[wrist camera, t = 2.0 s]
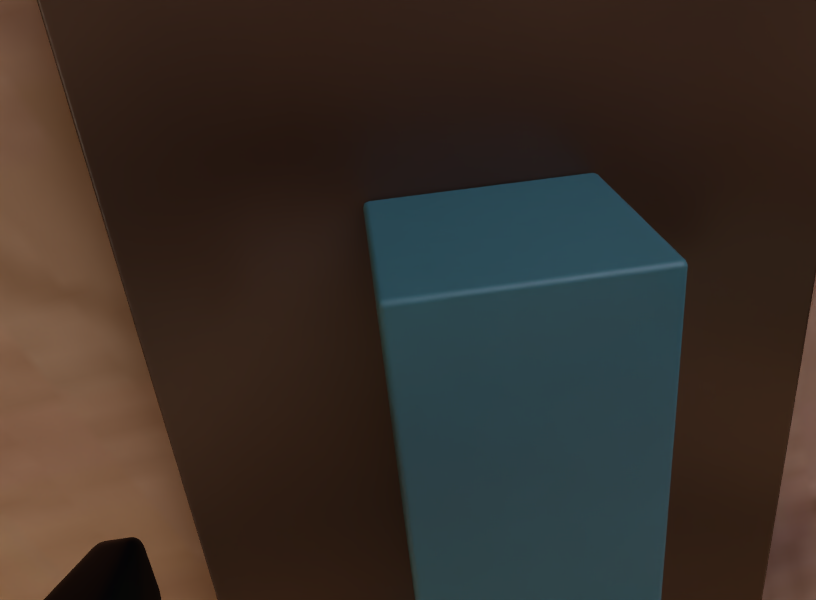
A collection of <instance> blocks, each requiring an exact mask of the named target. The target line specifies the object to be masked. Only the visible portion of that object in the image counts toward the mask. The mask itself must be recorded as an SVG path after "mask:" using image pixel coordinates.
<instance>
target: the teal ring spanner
mask: <svg viewBox="0 0 816 600" xmlns="http://www.w3.org/2000/svg"><path fill="white" fill-rule="evenodd" d="M363 211H364V218H365V226H366V233H367V241H368V248H369V256H370V264H371V271H372V279H373V286H374V294H375V301H376V309H377V317H378V324H379V332H380V339H381V347H382V354H383V362H384V370H385V377H386V385H387V392H388V400H389V407H390V415H391V423H392V430H393V438H394V445H395V453H396V460H397V468H398V476H399V483H400V491H401V498H402V506H403V513H404V521H405V529H406V536H407V544H408V551H409V559H410V566H411V574H412V581H413V589H414V597H415V600H661V595H662V582H663V570H664V557H665V545H666V532H667V519H668V507H669V494H670V482H671V469H672V457H673V444H674V432H675V419H676V406H677V394H678V381H679V369H680V356H681V344H682V331H683V318H684V306H685V293H686V281H687V268H688V266H687V262H686V260H685V259H684V258H683V257H682V256H681V255H680V254H679V253H678V252H677V251H676V250H675V249H674V248H673V247H672V246H671V245H670V244H669V243H668V242H667V241H666V240H664V239H663V238H662V237H661V236H660V235H659V234H658V233H657V232H656V231H655V230H654V229H653V228H652V227H651V226H650V225H649V224H648V223H647V222H646V221H645V220H644V219H643V218H642V217H641V216H640V215H639V214H638V213H637V212H636V211H635V210H634V209H633V208H632V207H631V206H630V205H629V204H628V203H626V202H625V201H624V200H623V199H622V198H621V197H620V196H619V195H618V194H617V193H616V192H615V191H614V190H613V189H612V188H611V187H610V186H609V185H608V184H607V183H606V182H605V181H604V180H603V179H602V178H601V177H600V176H599V175H598V174H596V173H587V174H579V175H571V176H563V177H556V178H548V179H540V180H532V181H524V182H516V183H508V184H500V185H493V186H485V187H477V188H469V189H461V190H453V191H445V192H437V193H430V194H422V195H414V196H406V197H398V198H390V199H382V200H375V201H368V202H366V203H364V207H363Z"/></svg>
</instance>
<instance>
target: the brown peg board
mask: <svg viewBox="0 0 816 600" xmlns="http://www.w3.org/2000/svg"><path fill="white" fill-rule="evenodd" d="M37 2H38V6H39V9H40V12H41V16H42V19H43V22H44V26H45V29H46V32H47V35H48V39H49V42H50V45H51V49H52V52H53V55H54V59H55V62H56V65H57V69H58V72H59V75H60V79H61V82H62V85H63V88H64V92H65V95H66V98H67V102H68V105H69V108H70V112H71V115H72V118H73V122H74V125H75V128H76V132H77V135H78V138H79V142H80V145H81V148H82V151H83V155H84V158H85V161H86V165H87V168H88V171H89V175H90V178H91V181H92V185H93V188H94V191H95V195H96V198H97V201H98V205H99V208H100V211H101V214H102V218H103V221H104V224H105V228H106V231H107V234H108V238H109V241H110V244H111V248H112V251H113V254H114V258H115V261H116V264H117V267H118V271H119V274H120V277H121V281H122V284H123V287H124V291H125V294H126V297H127V301H128V304H129V307H130V311H131V314H132V317H133V321H134V324H135V327H136V330H137V334H138V337H139V340H140V344H141V347H142V350H143V354H144V357H145V360H146V364H147V367H148V370H149V374H150V377H151V380H152V384H153V387H154V390H155V393H156V397H157V400H158V403H159V407H160V410H161V413H162V417H163V420H164V423H165V427H166V430H167V433H168V437H169V440H170V443H171V446H172V450H173V453H174V456H175V460H176V463H177V466H178V470H179V473H180V476H181V480H182V483H183V486H184V490H185V493H186V496H187V500H188V503H189V506H190V509H191V513H192V516H193V519H194V523H195V526H196V529H197V533H198V536H199V539H200V543H201V546H202V549H203V553H204V556H205V559H206V562H207V566H208V569H209V572H210V576H211V579H212V582H213V586H214V589H215V592H216V596H217V599H218V600H415V597H414V589H413V581H412V574H411V566H410V559H409V551H408V544H407V536H406V529H405V521H404V513H403V506H402V498H401V491H400V483H399V476H398V468H397V460H396V453H395V445H394V438H393V430H392V423H391V415H390V407H389V400H388V392H387V385H386V377H385V370H384V362H383V354H382V347H381V339H380V332H379V324H378V317H377V309H376V301H375V294H374V286H373V279H372V271H371V264H370V256H369V248H368V241H367V233H366V226H365V218H364V211H363V207H364V203H366V202H368V201H375V200H382V199H390V198H398V197H406V196H414V195H422V194H430V193H437V192H445V191H453V190H461V189H469V188H477V187H485V186H493V185H500V184H508V183H516V182H524V181H532V180H540V179H548V178H556V177H563V176H571V175H579V174H587V173H596V174H598V175H599V176H600V177H601V178H602V179H603V180H604V181H605V182H606V183H607V184H608V185H609V186H610V187H611V188H612V189H613V190H614V191H615V192H616V193H617V194H618V195H619V196H620V197H621V198H622V199H623V200H624V201H625V202H626V203H628V204H629V205H630V206H631V207H632V208H633V209H634V210H635V211H636V212H637V213H638V214H639V215H640V216H641V217H642V218H643V219H644V220H645V221H646V222H647V223H648V224H649V225H650V226H651V227H652V228H653V229H654V230H655V231H656V232H657V233H658V234H659V235H660V236H661V237H662V238H663V239H664V240H666V241H667V242H668V243H669V244H670V245H671V246H672V247H673V248H674V249H675V250H676V251H677V252H678V253H679V254H680V255H681V256H682V257H683V258H684V259H685V260H686V262H687V266H688V268H687V281H686V293H685V306H684V318H683V331H682V344H681V356H680V369H679V381H678V394H677V406H676V419H675V432H674V444H673V457H672V469H671V482H670V494H669V507H668V519H667V532H666V545H665V557H664V570H663V582H662V595H661V600H762V594H763V588H764V582H765V576H766V570H767V564H768V558H769V552H770V546H771V540H772V534H773V528H774V522H775V516H776V510H777V504H778V498H779V492H780V486H781V480H782V474H783V468H784V462H785V456H786V450H787V444H788V438H789V432H790V426H791V420H792V414H793V408H794V402H795V396H796V390H797V384H798V378H799V372H800V366H801V360H802V354H803V347H804V341H805V335H806V329H807V323H808V317H809V311H810V305H811V299H812V293H813V287H814V281H815V275H816V0H37Z"/></svg>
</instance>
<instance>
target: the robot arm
mask: <svg viewBox="0 0 816 600" xmlns="http://www.w3.org/2000/svg"><path fill="white" fill-rule="evenodd" d="M44 600H161V596H160V591H159V588H158V585H157V582H156V579H155V576H154V573H153V570H152V568H151V565H150V562H149V559H148V556H147V553H146V550H145V548H144V545H143V544H142V542H141V541H140V540H139V539H137V538H134V537H130V538H123V539H116V540H109V541H104V542H101V543H99V544H97V545H96V546H95V547H93V548H92V549H91V550H90V551H89V553H88V554H87V555H86V556H85V557H84V558H83V559H82V560H81V561H80V562H79V563H78V564H77V565H76V566H75V567H74V568H73V569H72V570H71V571H70V573H69V574H68V575H67V576H66V577H65V578H64V579H63V580H62V581H61V582H60V583H59V584H58V585H57V586H56V587H55V588H54V589H53V590H52V591H51V592H50V594H49V595H48V596H47V597H46V598H45V599H44Z"/></svg>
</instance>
